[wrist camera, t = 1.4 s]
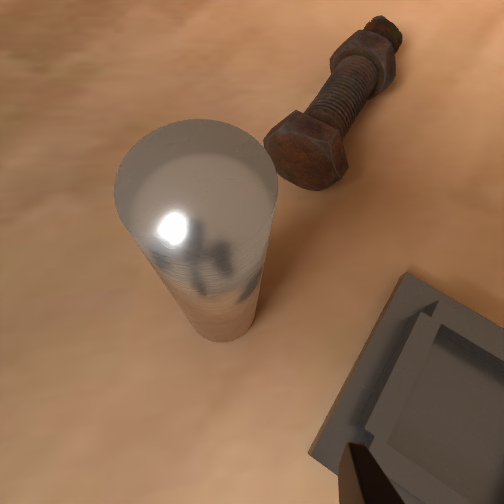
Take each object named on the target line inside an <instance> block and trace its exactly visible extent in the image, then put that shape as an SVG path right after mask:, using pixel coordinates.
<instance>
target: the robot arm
mask: <svg viewBox="0 0 504 504" xmlns="http://www.w3.org/2000/svg"><path fill="white" fill-rule="evenodd" d="M338 485H339V504H405V503H404V501H403V500H402V498H401V497H400V495H399V494H398V492H397V491H396V489H395V488H394V486H393V485H392V483H391V482H390V480H389V479H388V477H387V476H386V475H385V473H384V472H383V470H382V469H381V467H380V466H379V464H378V463H377V461H376V460H375V458H374V457H373V455H372V454H371V452H370V451H369V449H368V448H367V447H366V446H365V445H364V444H360V443H354V442H348V443H347V444H346V445H345V448H344V451H343V454H342V457H341V460H340V463H339V467H338Z"/></svg>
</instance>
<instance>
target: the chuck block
mask: <svg viewBox="0 0 504 504" xmlns="http://www.w3.org/2000/svg"><path fill="white" fill-rule="evenodd" d="M348 442H354V443H360V444H364V445H365V446H366V447H367V448H368V449H369V451H370V452H371V454H372V455H373V457H374V458H375V460H376V461H377V463H378V464H379V466H380V467H381V469H382V470H383V472H384V473H385V475H386V476H387V477H388V479H389V480H390V482H391V483H392V485H393V486H394V488H395V489H396V491H397V492H398V494H399V495H400V497H401V498H402V500H403V501H404V503H405V504H504V329H503V328H501V327H500V326H498V325H496V324H494V323H493V322H491V321H489V320H488V319H486V318H484V317H483V316H481V315H479V314H477V313H476V312H474V311H472V310H471V309H469V308H467V307H465V306H464V305H462V304H460V303H459V302H457V301H455V300H454V299H452V298H450V297H448V296H447V295H445V294H443V293H442V292H440V291H438V290H437V289H435V288H433V287H431V286H430V285H428V284H426V283H425V282H423V281H421V280H419V279H418V278H416V277H414V276H413V275H411V274H409V273H408V272H406V273H405V274H403V275H402V276H401V277H400V279H399V281H398V283H397V285H396V287H395V289H394V291H393V292H392V294H391V296H390V298H389V300H388V302H387V304H386V306H385V308H384V309H383V311H382V313H381V315H380V317H379V319H378V321H377V323H376V325H375V326H374V328H373V330H372V332H371V334H370V336H369V338H368V340H367V342H366V343H365V345H364V347H363V349H362V351H361V353H360V355H359V357H358V359H357V360H356V362H355V364H354V366H353V368H352V370H351V372H350V374H349V376H348V377H347V379H346V381H345V383H344V385H343V387H342V389H341V391H340V393H339V394H338V396H337V398H336V400H335V402H334V404H333V406H332V408H331V410H330V411H329V413H328V415H327V417H326V419H325V421H324V423H323V425H322V427H321V428H320V430H319V432H318V434H317V436H316V438H315V440H314V442H313V444H312V445H311V447H310V449H309V451H308V454H309V455H310V456H311V457H313V458H314V459H316V460H317V461H318V462H320V463H321V464H322V465H324V466H325V467H327V468H328V469H329V470H331V471H332V472H333V473H335V474H336V475H338V467H339V463H340V460H341V457H342V454H343V451H344V448H345V445H346V444H347V443H348Z"/></svg>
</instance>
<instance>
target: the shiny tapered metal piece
mask: <svg viewBox="0 0 504 504" xmlns="http://www.w3.org/2000/svg"><path fill="white" fill-rule="evenodd" d="M277 195H278V179H277V173H276V170H275V166H274V164H273V162H272V160H271V157H270V156H269V154H268V153H267V151H266V150H265V149H264V147H263V146H262V145H261V144H260V143H259V142H258V141H257V140H256V139H255V138H254V137H252V136H251V135H249V134H248V133H247V132H245V131H243V130H241V129H239V128H238V127H235V126H233V125H230V124H227V123H224V122H220V121H214V120H206V119H192V120H184V121H178V122H174V123H171V124H168V125H165V126H163V127H160V128H158V129H156V130H154V131H152V132H151V133H149V134H148V135H146V136H145V137H143V138H142V139H141V140H140V141H138V142H137V143H136V144H135V145H134V146H133V147H132V148H131V149H130V151H129V152H128V153H127V155H126V156H125V157H124V159H123V161H122V163H121V165H120V167H119V170H118V172H117V175H116V180H115V186H114V198H115V204H116V208H117V212H118V214H119V217H120V219H121V221H122V222H123V224H124V226H125V227H126V229H127V230H128V232H129V233H130V235H131V236H132V238H133V239H134V240H135V242H136V243H137V245H138V246H139V248H140V249H141V251H142V252H143V254H144V255H145V256H146V258H147V259H148V261H149V262H150V264H151V265H152V267H153V268H154V270H155V271H156V272H157V274H158V275H159V277H160V278H161V280H162V281H163V283H164V284H165V286H166V287H167V288H168V290H169V291H170V293H171V294H172V296H173V297H174V299H175V300H176V302H177V303H178V304H179V306H180V307H181V309H182V310H183V312H184V313H185V315H186V316H187V318H188V319H189V320H190V322H191V323H192V325H193V326H194V328H195V329H196V330H197V332H198V333H199V334H200V335H201V336H203V337H204V338H206V339H208V340H210V341H213V342H220V343H224V342H230V341H233V340H236V339H238V338H240V337H241V336H242V335H244V334H245V333H246V332H247V331H248V329H249V328H250V326H251V325H252V322H253V320H254V317H255V311H256V306H257V301H258V296H259V290H260V285H261V280H262V274H263V269H264V264H265V259H266V253H267V248H268V243H269V238H270V232H271V227H272V222H273V217H274V211H275V206H276V201H277Z"/></svg>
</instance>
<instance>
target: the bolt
mask: <svg viewBox="0 0 504 504" xmlns="http://www.w3.org/2000/svg"><path fill="white" fill-rule="evenodd" d="M372 19H373V20H371V21H372V22H370V21H369V22H368V23H367V25H366V26H365V27H364V29H363V30H358V31H357V32H355V33H354V34H353V35H352V36H350V37H349V38H348V39H347V40H346V41H345V42H344V43H343V44H342V45H341V46H340V47H339V48H338V49H337V50H336V51H335V52H334V54H333V55H332V56H331V58H330V70H331V76H330V77H329V79H328V80H327V81H326V83H325V84H324V86H323V87H322V89H321V90H320V92H319V93H318V95H317V96H316V98H315V99H314V100H313V101H312V103H311V104H310V105H309V107H308V108H307V109H306V111H305V112H304V113H301V112H299V111H297V110H295V111H294V112H292V113H291V114H290V115H288V116H287V117H286V118H285V119H283V120H282V121H281V122H280V123H278V124H277V125H276V126H275V127H273V128H272V129H271V130H270V131H269V133H268V134H267V136H266V137H265V138H264V140H263V142H264V149H265V150H266V151H267V153H268V154H269V156H270V157H271V160H272V162H273V164H274V166H275V170H276V172H277V173H278V174H279V175H280V176H281V177H283V178H284V179H286V180H288V181H290V182H292V183H293V184H295V185H297V186H299V187H301V188H304V189H308V190H315V191H319V190H323V189H326V188H328V187H330V186H331V185H333V184H335V183H336V182H338V181H339V180H341V179H342V177H343V176H344V174H345V172H346V171H347V169H348V163H347V159H346V155H345V151H344V148H343V144H342V141H343V137H344V136H345V135H346V133H347V131H348V130H349V128H350V126H351V124H352V123H353V122H354V120H355V118H356V117H357V115H358V114H359V112H360V110H361V108H362V107H363V106H364V104H365V102H366V100H369V99H371V98H373V97H375V96H376V95H378V94H379V93H380V92H382V91H383V90H384V89H386V88H387V87H388V86H389V85H390V84H391V82H392V81H393V79H394V77H395V71H396V63H395V54H396V52H397V51H398V49H399V46H400V45H401V43H402V34H401V32H400V31H399V30H398V28H397V27H396V26H395V25H394V24H393V23H392V22H390V21H389V20H387V19H386V18H385V17H383V16H381V15H380V16H376V17H374V18H372Z"/></svg>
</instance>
